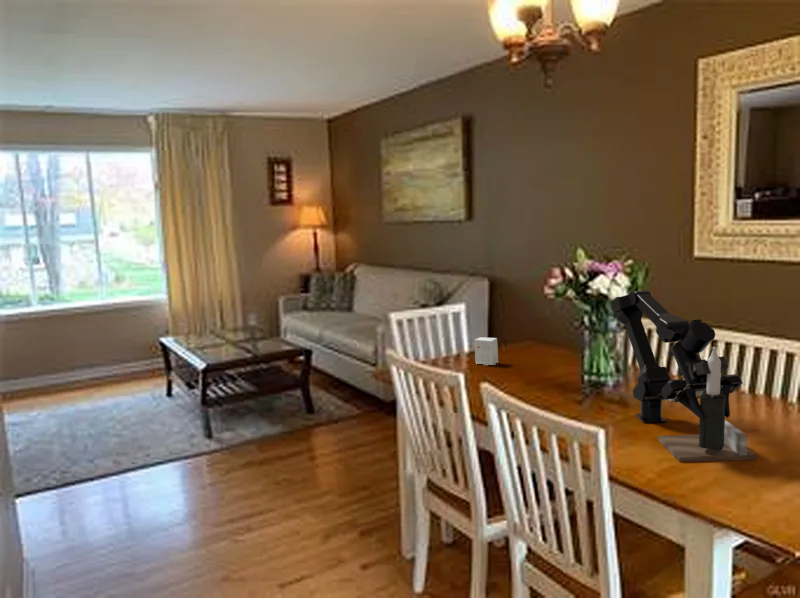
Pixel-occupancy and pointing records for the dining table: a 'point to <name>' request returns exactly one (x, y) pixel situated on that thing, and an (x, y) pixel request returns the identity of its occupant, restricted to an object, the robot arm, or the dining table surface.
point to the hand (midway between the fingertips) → (715, 418)
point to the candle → (712, 408)
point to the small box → (486, 351)
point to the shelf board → (689, 450)
